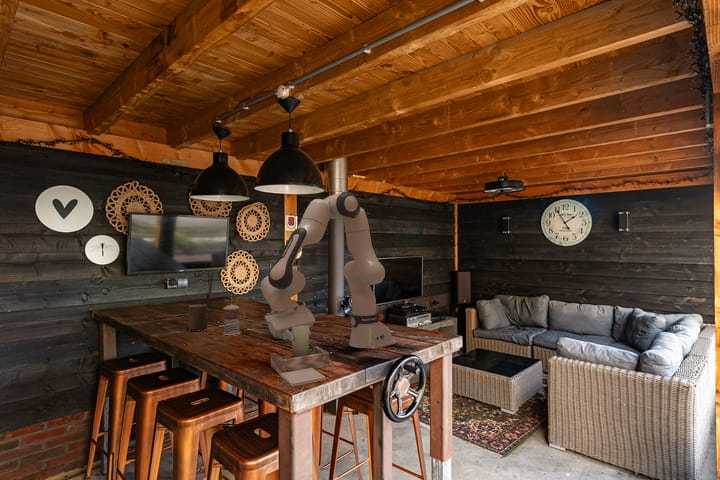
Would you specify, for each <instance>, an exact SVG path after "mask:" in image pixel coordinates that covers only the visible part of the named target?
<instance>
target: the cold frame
mask: <svg viewBox="0 0 720 480" xmlns="http://www.w3.org/2000/svg"><path fill="white" fill-rule="evenodd" d="M312 349H313V350H312V351H309V353H307V354H302V355H296V354H290V355H284V356H281V355H279V354H277V353H276V352H271V353H270V367H271V368H272V369H273V370H275V371H276V373H277V374H279V376H281V373H286V372H291V371H297V370H302V369H308V368H313V369H315V370H316V369H321V368H326V367H330V352H328V351H326V350H324V349H323V348H321V347H319V346H318V345H315V346H312Z"/></svg>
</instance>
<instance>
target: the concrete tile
mask: <svg viewBox="0 0 720 480" xmlns="http://www.w3.org/2000/svg"><path fill="white" fill-rule="evenodd" d="M280 378H282V379H283V380H284V381H285V382H286V383H287V384H289V385H290V386H291V387H292V388H294V387H298V386H304V385H307V384H308V385H309V384H312V383H318V381H319V382H323V380H324V381H326V376H325V375H323V374H322V373H320V372H319V371H318V370H316V369H313V368H308V369H302V370H297V371H291V372H286V373H281V375H280Z"/></svg>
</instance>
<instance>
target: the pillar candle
mask: <svg viewBox="0 0 720 480" xmlns="http://www.w3.org/2000/svg"><path fill="white" fill-rule="evenodd" d="M207 328H208V304H204V303H203V304H191V305H188V331H189V330H192V331H198V330H204V329H207ZM207 330H208V329H207Z"/></svg>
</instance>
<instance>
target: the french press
mask: <svg viewBox="0 0 720 480" xmlns="http://www.w3.org/2000/svg"><path fill="white" fill-rule="evenodd" d="M229 289H230V292H231V293H230V295H231V296H230V298H231V301H230V302H231V304H230V305H227V306H225V307H223V310H224V311H231V313H230V314H225V315H224V317H225V318H224V317H223V318H224V319H223V333H222V334H224V335H234V336H236V335H235V334H239V335H241V334H242V332H241V331H240V330H241V324H243V323H244V322H245V318H246V315H245V314H246V313H245V312H244V311H243V310H242V309H240V306H238V305H236V304H233V299H232V297H233V292H232V290H233V289H234V287H233V286H229ZM233 310H238V313H237V314H236V313H235V314H234V313H233ZM240 312H242V313H243V317H244V318H243V320H242V321H240V317H239V313H240ZM240 333H241V334H240ZM224 335H223V336H224Z"/></svg>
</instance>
